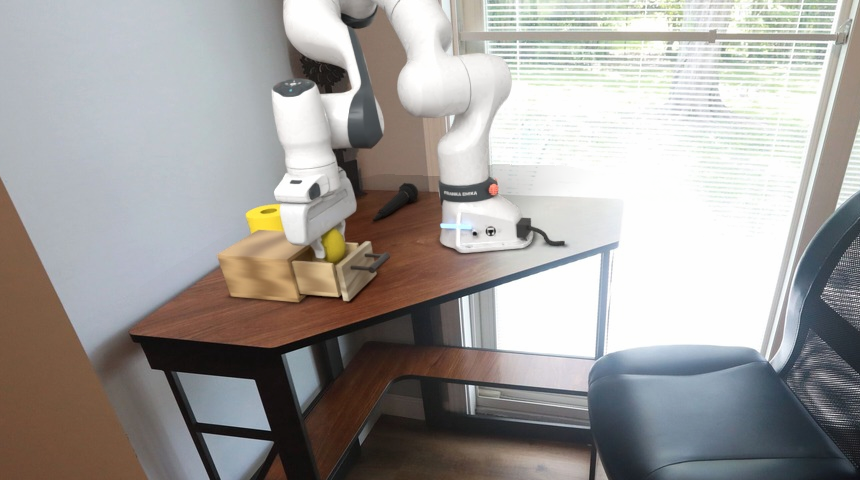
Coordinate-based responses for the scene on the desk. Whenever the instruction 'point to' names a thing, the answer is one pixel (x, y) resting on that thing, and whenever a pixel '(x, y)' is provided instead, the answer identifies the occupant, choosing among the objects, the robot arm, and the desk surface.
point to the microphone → (399, 200)
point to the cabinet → (262, 267)
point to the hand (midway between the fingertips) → (331, 250)
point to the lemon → (333, 246)
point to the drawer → (337, 271)
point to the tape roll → (265, 218)
